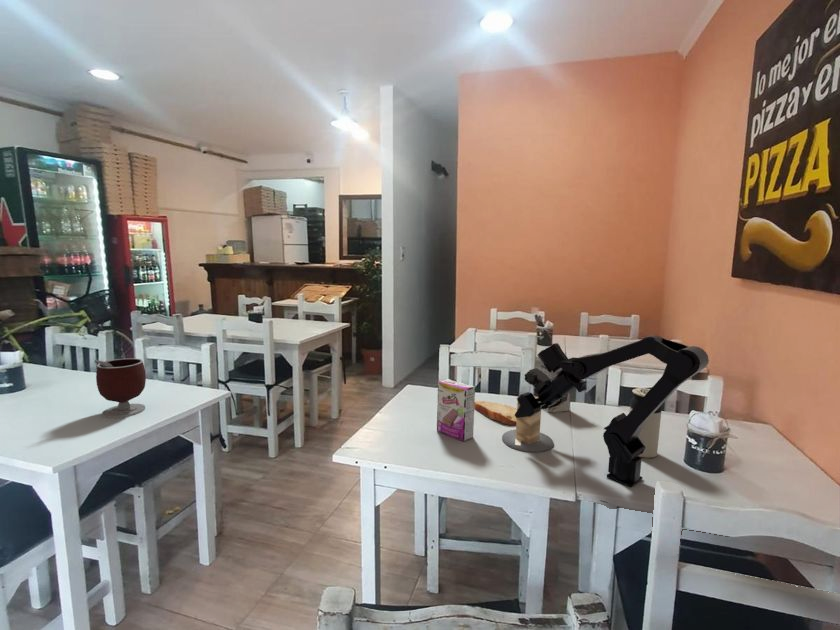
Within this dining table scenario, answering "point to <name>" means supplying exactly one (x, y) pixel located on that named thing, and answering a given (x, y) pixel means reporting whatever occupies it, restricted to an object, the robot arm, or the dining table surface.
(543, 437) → the letter board
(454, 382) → the candy bar box
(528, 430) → the oak block
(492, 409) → the slice of bread
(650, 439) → the travel mug
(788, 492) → the dining table surface
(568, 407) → the coffee box
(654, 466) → the dining table surface
